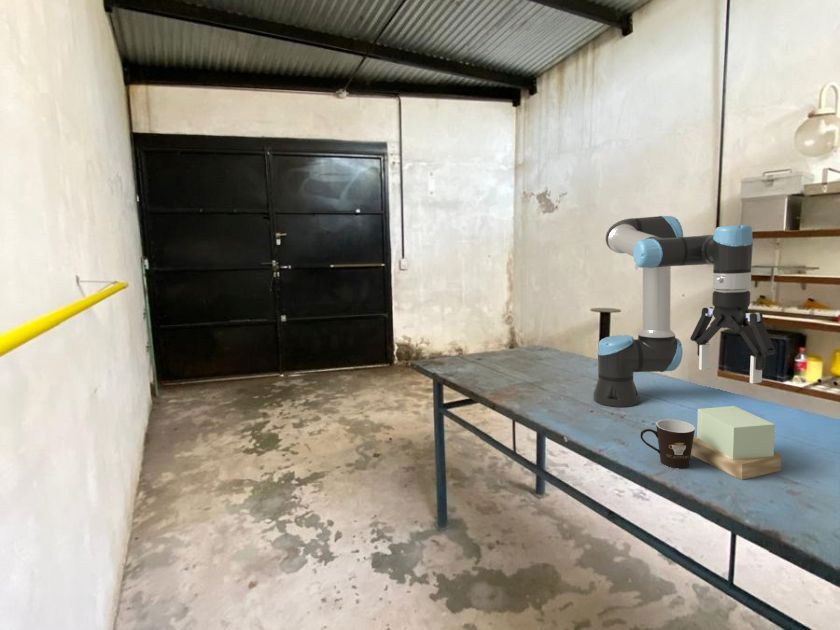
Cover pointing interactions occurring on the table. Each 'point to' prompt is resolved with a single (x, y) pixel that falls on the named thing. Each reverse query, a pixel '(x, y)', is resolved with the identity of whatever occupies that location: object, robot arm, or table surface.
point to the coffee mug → (673, 442)
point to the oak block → (735, 461)
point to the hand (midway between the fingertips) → (728, 375)
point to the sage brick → (736, 432)
